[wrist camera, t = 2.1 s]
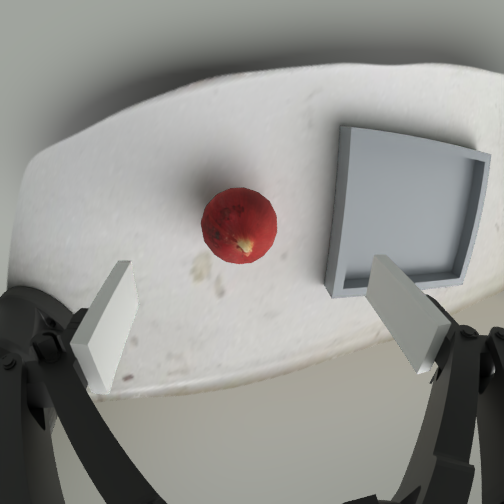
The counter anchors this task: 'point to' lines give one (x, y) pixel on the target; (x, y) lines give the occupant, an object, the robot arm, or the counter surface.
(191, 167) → the counter surface
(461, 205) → the tray
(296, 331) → the counter surface
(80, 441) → the robot arm
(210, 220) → the onion
